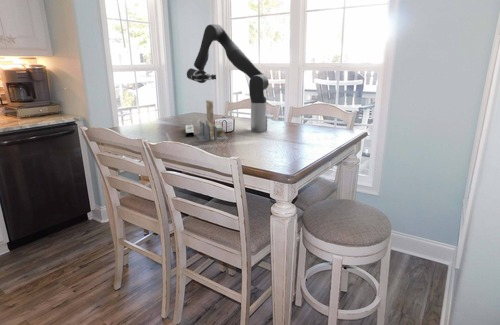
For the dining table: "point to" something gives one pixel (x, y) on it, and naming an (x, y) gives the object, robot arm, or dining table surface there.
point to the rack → (208, 133)
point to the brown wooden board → (210, 118)
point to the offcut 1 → (219, 127)
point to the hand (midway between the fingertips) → (206, 77)
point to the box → (189, 128)
